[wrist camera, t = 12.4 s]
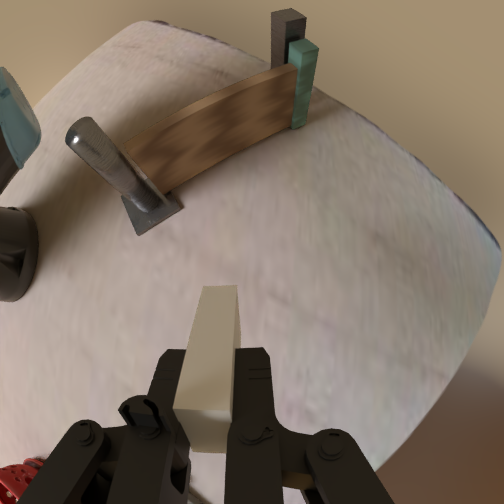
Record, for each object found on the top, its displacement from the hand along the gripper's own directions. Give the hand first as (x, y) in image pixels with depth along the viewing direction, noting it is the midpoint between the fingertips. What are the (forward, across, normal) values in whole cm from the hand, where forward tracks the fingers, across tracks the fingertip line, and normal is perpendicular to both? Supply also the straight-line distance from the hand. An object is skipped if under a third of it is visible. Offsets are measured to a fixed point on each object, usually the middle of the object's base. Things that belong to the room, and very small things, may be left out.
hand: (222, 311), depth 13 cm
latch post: (+28, +6, +11) cm, 31 cm away
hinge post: (+22, -11, +1) cm, 24 cm away
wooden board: (+24, 0, +6) cm, 25 cm away
